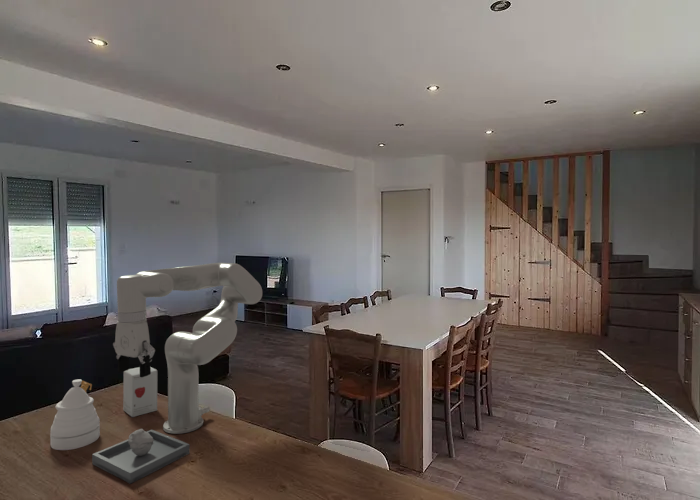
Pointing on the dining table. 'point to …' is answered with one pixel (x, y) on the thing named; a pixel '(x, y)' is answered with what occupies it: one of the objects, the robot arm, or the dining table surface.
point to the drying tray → (140, 457)
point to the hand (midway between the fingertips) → (134, 373)
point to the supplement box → (139, 392)
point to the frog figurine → (140, 442)
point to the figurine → (85, 385)
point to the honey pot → (74, 420)
